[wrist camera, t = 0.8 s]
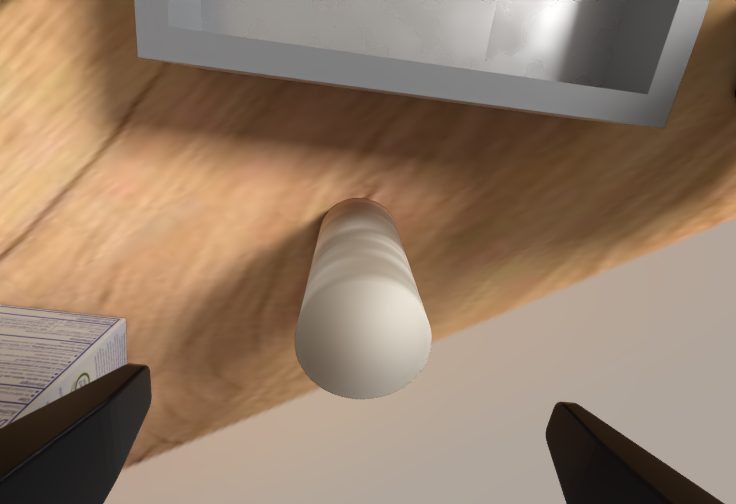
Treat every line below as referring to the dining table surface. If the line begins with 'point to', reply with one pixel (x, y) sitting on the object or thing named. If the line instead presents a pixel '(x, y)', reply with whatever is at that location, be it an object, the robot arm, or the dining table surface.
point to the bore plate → (440, 31)
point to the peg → (361, 307)
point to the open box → (451, 84)
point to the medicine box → (53, 355)
